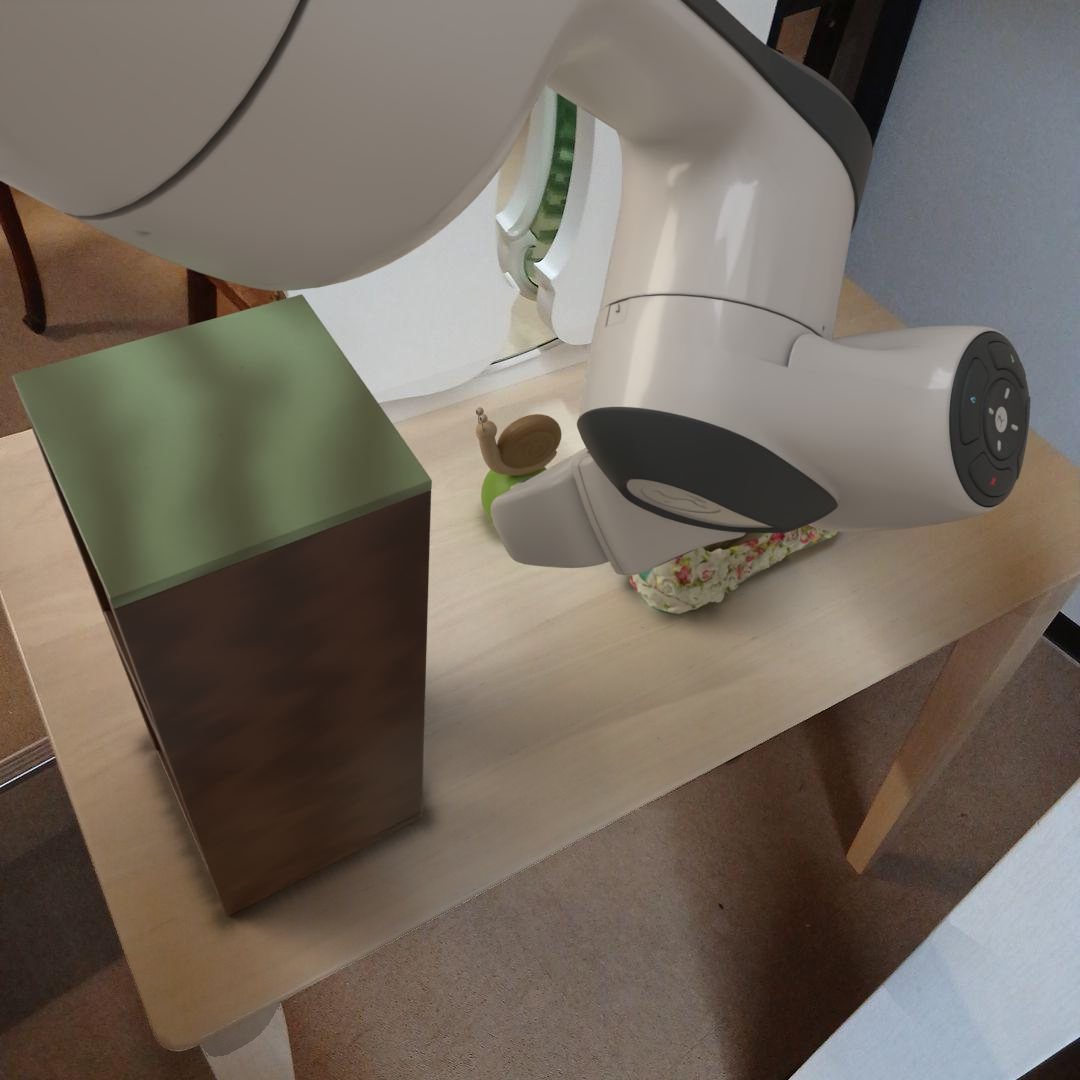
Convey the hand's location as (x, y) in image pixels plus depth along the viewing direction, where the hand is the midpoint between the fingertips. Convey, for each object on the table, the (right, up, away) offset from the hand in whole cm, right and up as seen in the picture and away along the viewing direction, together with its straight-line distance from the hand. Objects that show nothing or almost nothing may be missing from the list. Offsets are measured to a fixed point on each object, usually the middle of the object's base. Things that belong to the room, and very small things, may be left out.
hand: (580, 462), depth 67 cm
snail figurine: (-5, -4, +11) cm, 13 cm away
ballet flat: (+13, -5, +13) cm, 19 cm away
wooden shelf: (-18, -19, -3) cm, 26 cm away
